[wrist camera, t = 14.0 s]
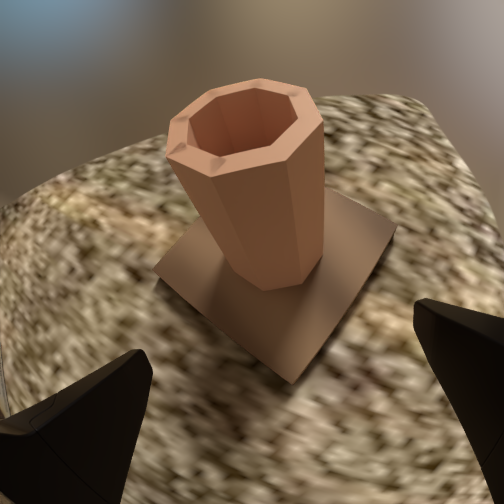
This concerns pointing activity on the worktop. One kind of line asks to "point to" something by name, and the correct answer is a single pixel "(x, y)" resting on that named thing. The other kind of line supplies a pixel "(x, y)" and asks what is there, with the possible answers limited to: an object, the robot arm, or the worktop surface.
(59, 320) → the worktop surface
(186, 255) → the post stand
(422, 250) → the worktop surface
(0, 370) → the coffee box
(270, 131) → the terracotta collar
